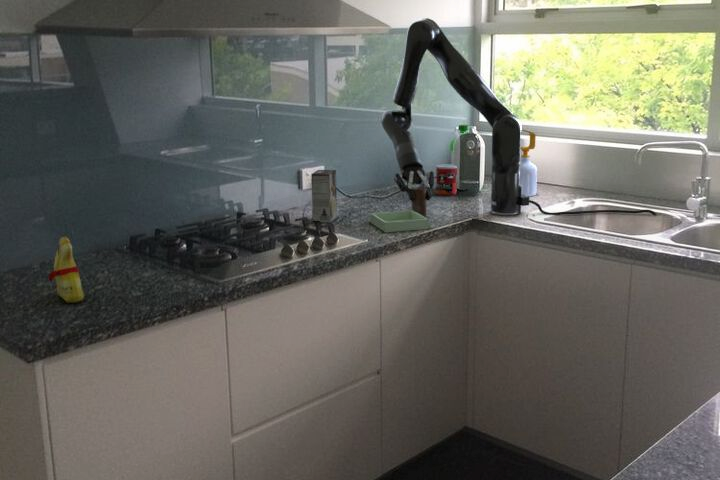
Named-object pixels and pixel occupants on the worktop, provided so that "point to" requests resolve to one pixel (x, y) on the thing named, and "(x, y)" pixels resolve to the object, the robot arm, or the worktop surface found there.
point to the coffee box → (324, 195)
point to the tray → (399, 221)
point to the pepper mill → (419, 200)
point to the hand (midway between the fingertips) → (421, 199)
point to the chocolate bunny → (66, 273)
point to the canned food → (446, 180)
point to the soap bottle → (528, 169)
